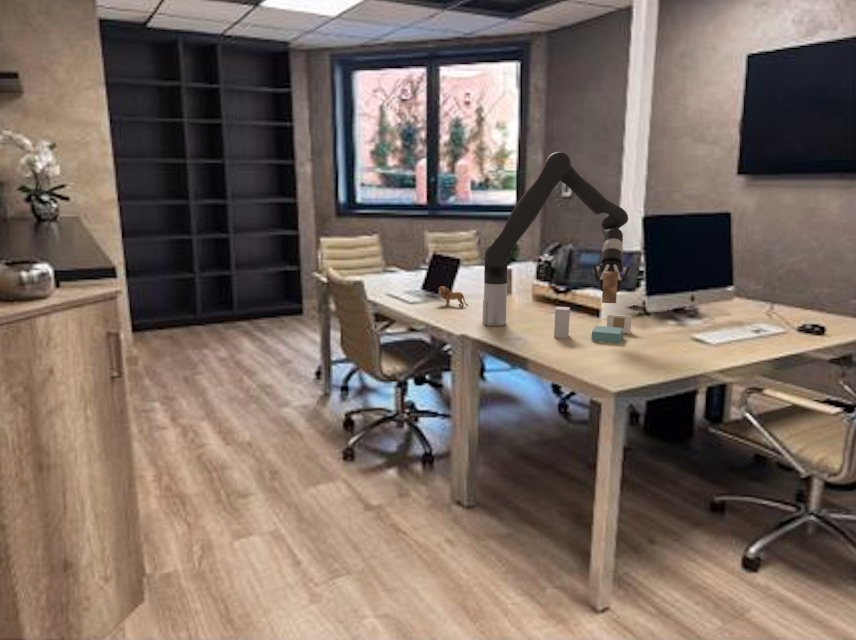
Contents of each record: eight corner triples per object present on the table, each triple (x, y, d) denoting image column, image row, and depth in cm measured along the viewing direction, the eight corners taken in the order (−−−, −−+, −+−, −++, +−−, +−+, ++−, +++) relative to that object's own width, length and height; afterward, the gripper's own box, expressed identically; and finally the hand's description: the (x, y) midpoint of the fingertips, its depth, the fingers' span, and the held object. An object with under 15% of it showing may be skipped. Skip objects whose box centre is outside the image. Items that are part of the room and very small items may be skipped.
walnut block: (601, 302, 237) (603, 273, 234) (602, 300, 242) (604, 271, 239) (616, 303, 235) (617, 273, 233) (616, 300, 240) (618, 271, 238)
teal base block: (591, 341, 239) (591, 331, 238) (594, 335, 248) (595, 325, 247) (619, 344, 235) (619, 333, 234) (621, 338, 244) (622, 327, 244)
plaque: (606, 332, 252) (607, 315, 250) (606, 329, 255) (607, 313, 254) (630, 333, 249) (631, 317, 248) (630, 331, 253) (631, 315, 251)
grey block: (554, 337, 244) (555, 309, 241) (555, 334, 249) (556, 306, 246) (567, 338, 242) (568, 309, 240) (568, 335, 247) (569, 307, 245)
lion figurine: (436, 305, 302) (436, 286, 300) (440, 303, 307) (440, 285, 305) (467, 307, 298) (467, 288, 296) (470, 305, 302) (470, 286, 300)
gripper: (592, 246, 243) (589, 283, 235) (632, 247, 239) (630, 285, 231) (592, 259, 249) (589, 295, 241) (631, 260, 245) (629, 297, 237)
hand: (609, 290), depth 236 cm, fingers closed on walnut block, 5 cm apart
